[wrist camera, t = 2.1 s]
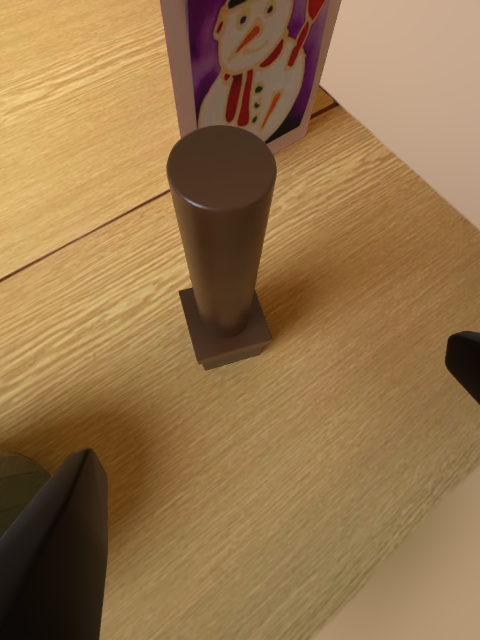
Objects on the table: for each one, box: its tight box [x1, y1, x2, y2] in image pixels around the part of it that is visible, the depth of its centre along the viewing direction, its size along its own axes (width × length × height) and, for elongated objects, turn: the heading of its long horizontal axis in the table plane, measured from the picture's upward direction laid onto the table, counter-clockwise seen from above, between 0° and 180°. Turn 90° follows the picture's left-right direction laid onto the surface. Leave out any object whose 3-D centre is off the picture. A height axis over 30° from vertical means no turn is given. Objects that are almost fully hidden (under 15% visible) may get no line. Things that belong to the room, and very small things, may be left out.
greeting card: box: [160, 0, 341, 154], centre depth 19 cm, size 11×7×15 cm, turn 127°
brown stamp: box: [166, 125, 277, 370], centre depth 14 cm, size 4×4×14 cm
